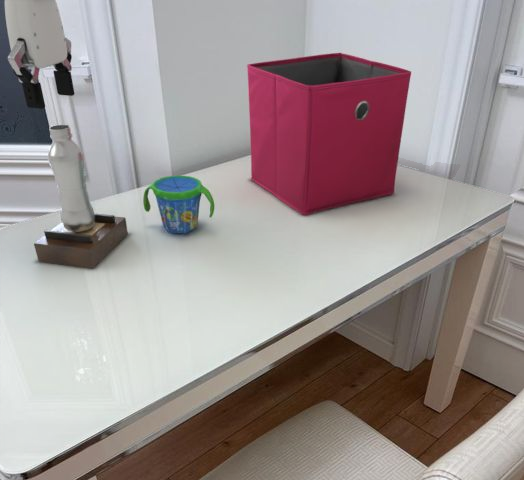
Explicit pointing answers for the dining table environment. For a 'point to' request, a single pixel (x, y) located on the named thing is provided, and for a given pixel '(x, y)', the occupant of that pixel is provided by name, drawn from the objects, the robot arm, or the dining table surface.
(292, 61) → the storage bin
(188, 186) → the snack cup
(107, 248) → the brown wooden base
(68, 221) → the silver metal bottle
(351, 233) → the dining table surface
